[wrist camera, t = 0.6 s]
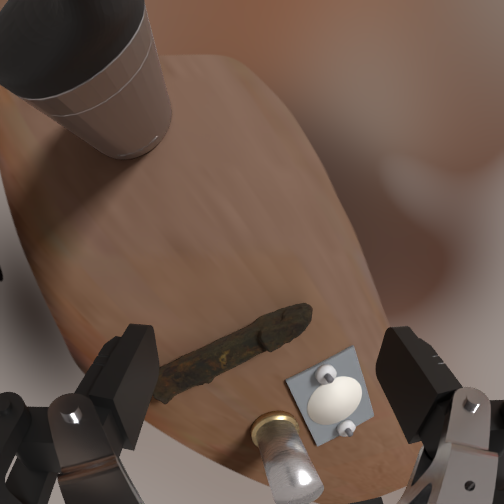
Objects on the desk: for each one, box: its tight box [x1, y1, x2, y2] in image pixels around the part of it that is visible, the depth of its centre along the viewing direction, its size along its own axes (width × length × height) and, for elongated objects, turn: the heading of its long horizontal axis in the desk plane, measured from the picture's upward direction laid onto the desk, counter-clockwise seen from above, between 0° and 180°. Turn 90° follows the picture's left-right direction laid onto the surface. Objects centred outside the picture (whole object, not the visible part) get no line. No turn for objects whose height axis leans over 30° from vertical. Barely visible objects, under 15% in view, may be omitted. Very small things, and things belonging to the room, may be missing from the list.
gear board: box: [286, 345, 374, 446], centre depth 33 cm, size 13×9×2 cm
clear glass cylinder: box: [251, 411, 324, 504], centre depth 28 cm, size 6×6×12 cm
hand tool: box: [153, 303, 313, 404], centre depth 30 cm, size 19×4×5 cm, turn 114°
